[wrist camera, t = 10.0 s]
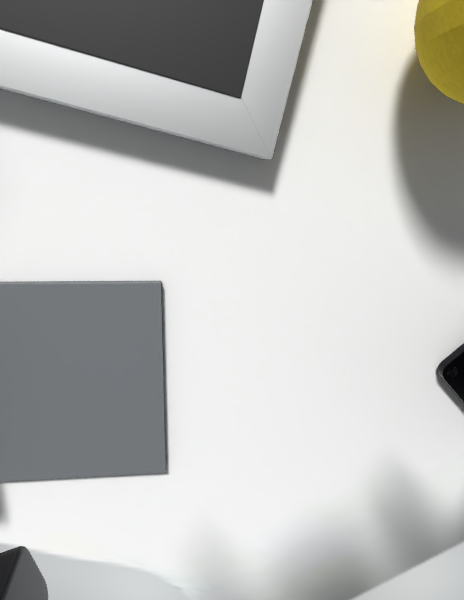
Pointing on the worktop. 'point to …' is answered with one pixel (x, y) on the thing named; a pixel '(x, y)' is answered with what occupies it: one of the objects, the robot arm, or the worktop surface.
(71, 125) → the worktop surface
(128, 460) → the mat
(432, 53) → the lemon
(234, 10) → the picture frame
